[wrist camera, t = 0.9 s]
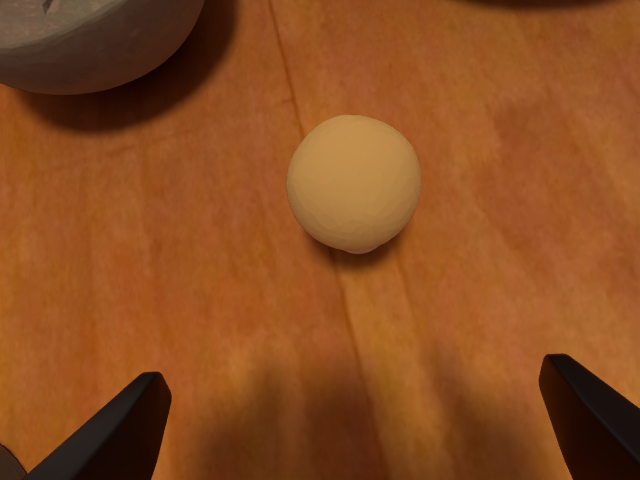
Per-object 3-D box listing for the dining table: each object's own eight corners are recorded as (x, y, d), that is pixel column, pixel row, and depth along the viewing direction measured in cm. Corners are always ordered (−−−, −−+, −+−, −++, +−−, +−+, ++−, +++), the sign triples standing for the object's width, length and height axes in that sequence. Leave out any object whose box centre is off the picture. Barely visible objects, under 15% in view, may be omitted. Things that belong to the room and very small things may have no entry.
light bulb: (425, 209, 25) (457, 121, 16) (378, 295, 24) (381, 256, 14) (340, 169, 27) (322, 66, 17) (292, 247, 26) (244, 184, 16)
